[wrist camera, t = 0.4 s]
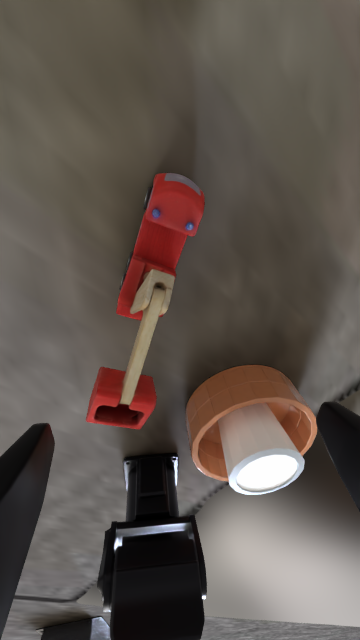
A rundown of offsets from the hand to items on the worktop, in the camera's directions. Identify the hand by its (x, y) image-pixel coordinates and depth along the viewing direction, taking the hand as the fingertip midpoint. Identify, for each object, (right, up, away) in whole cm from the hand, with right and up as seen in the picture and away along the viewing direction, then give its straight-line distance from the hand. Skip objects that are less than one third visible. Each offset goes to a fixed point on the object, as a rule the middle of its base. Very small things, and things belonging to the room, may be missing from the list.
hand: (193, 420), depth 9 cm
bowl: (+6, -7, +21) cm, 22 cm away
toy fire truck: (-3, +7, +12) cm, 14 cm away
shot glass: (+6, -7, +20) cm, 22 cm away
